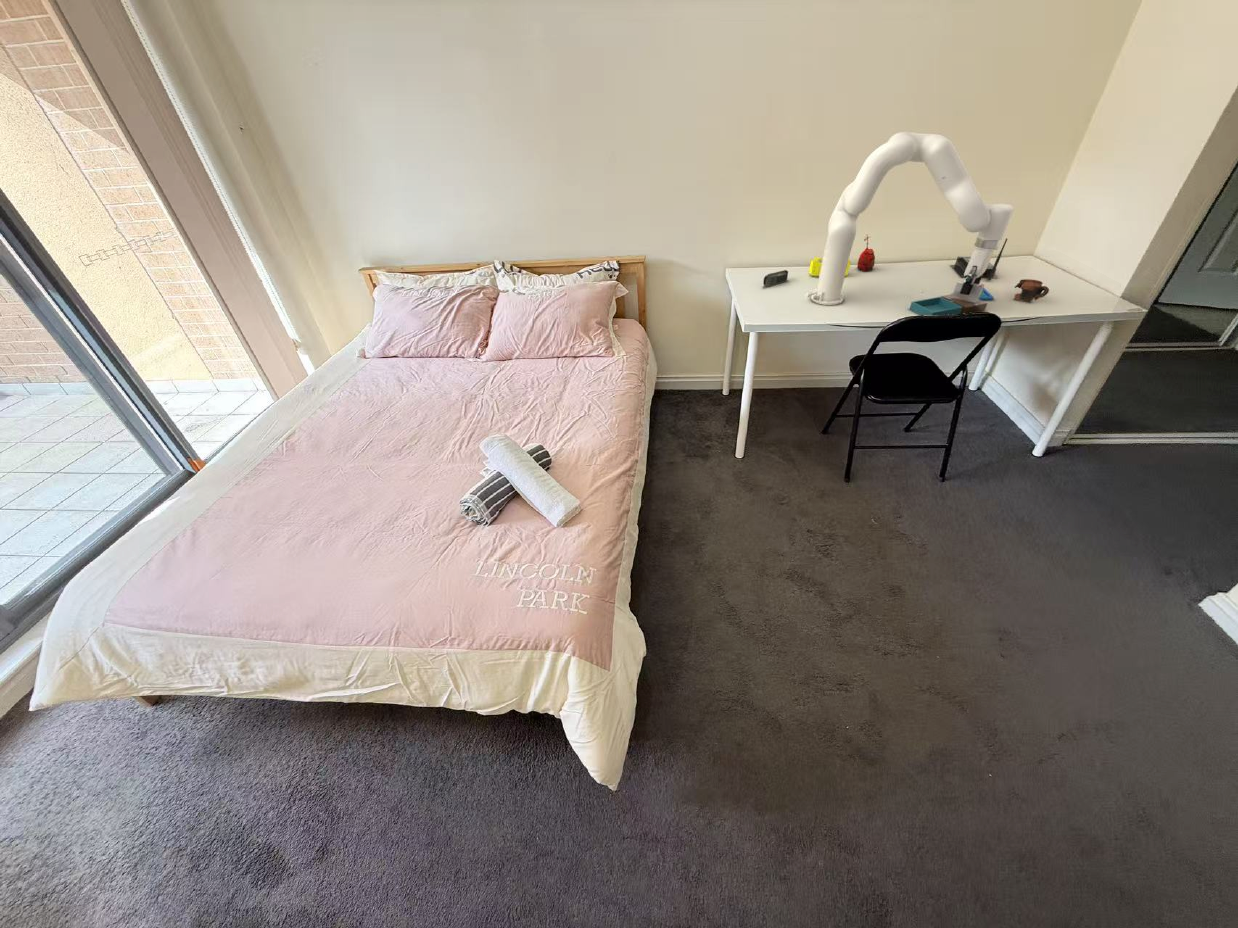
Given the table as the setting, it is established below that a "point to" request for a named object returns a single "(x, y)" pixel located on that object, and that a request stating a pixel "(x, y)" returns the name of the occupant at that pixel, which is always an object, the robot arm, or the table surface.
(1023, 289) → the pottery mug
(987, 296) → the handheld gaming device
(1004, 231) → the robot arm
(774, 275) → the mobile phone
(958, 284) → the white block
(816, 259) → the yellow toy chassis
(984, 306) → the panel
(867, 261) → the red clay folk toy
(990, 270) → the wireless controller
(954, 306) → the basin
